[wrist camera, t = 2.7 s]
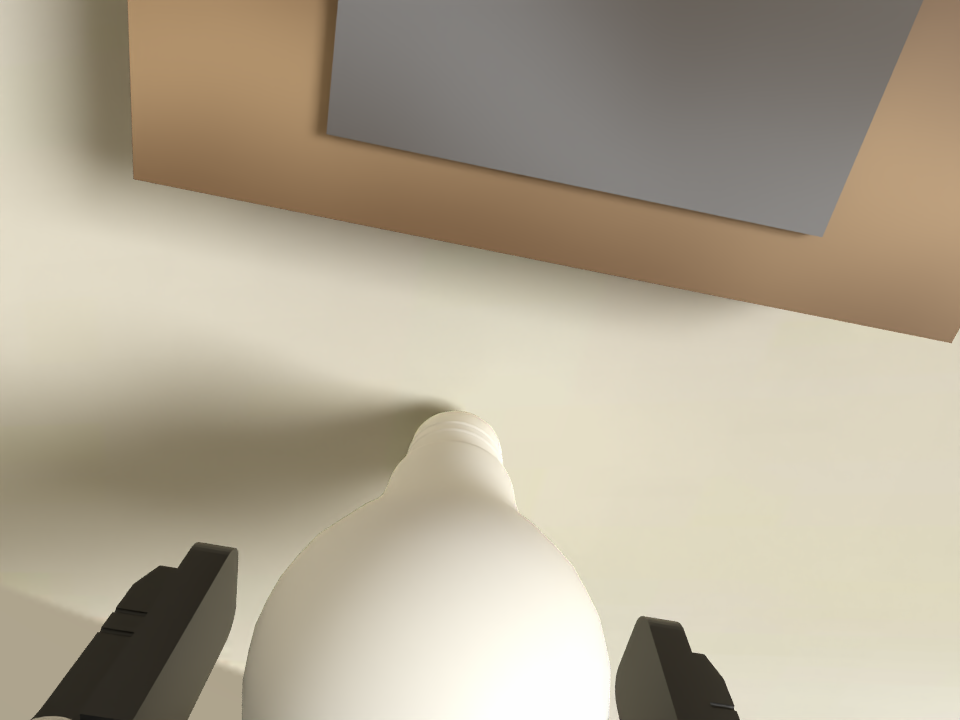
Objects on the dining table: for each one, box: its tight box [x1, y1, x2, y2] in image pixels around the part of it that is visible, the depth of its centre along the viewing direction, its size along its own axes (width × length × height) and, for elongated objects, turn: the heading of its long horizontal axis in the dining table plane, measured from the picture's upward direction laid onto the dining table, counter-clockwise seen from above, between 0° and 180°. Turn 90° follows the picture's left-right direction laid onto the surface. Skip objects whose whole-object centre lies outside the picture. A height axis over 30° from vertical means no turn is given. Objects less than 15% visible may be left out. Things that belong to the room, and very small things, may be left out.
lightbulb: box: [242, 411, 611, 720], centre depth 13 cm, size 6×6×11 cm
